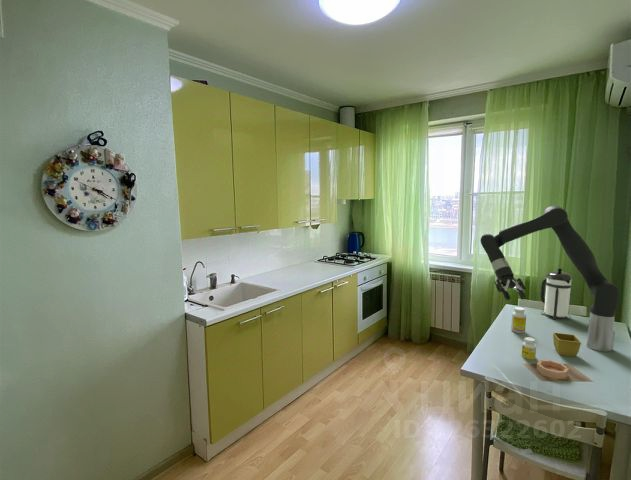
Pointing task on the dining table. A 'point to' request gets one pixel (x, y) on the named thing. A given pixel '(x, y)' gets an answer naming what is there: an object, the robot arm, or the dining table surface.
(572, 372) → the walnut board
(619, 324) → the dining table surface
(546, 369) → the octagonal planter bowl
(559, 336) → the flower pot
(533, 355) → the supplement bottle
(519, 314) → the supplement bottle
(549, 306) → the coffee press
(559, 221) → the robot arm
